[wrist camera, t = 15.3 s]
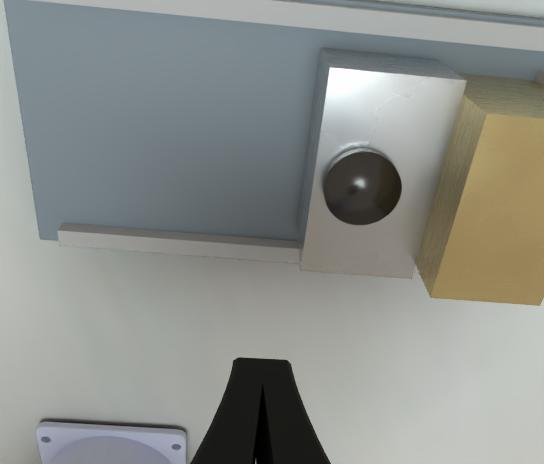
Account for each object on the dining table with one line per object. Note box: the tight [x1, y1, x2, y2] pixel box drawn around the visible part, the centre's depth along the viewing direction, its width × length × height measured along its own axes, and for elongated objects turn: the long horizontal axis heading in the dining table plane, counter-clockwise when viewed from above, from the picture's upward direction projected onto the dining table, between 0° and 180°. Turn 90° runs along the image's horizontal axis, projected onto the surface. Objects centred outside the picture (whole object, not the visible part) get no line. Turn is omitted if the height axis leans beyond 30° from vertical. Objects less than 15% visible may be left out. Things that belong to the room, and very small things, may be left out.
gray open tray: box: [4, 0, 544, 273], centre depth 18 cm, size 10×22×4 cm, turn 85°
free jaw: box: [296, 48, 467, 279], centre depth 18 cm, size 7×4×4 cm, turn 175°
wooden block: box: [416, 73, 544, 306], centre depth 17 cm, size 6×4×5 cm, turn 175°
